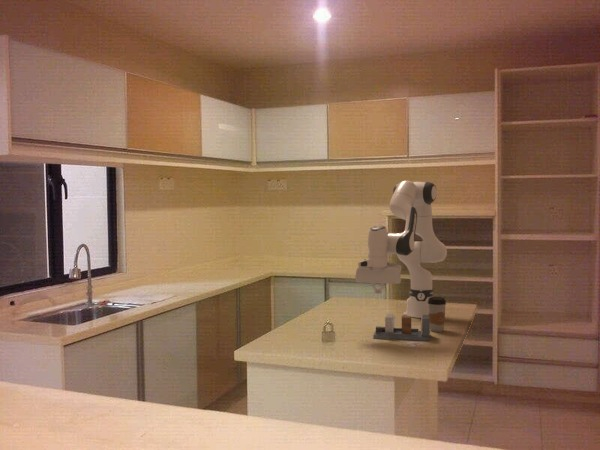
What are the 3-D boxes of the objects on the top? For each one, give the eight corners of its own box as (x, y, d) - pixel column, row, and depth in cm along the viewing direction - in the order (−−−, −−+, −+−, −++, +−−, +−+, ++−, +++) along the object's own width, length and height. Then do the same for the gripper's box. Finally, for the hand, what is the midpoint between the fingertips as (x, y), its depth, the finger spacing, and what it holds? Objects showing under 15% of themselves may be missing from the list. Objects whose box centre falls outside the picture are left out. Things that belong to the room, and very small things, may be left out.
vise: (376, 332, 267) (376, 312, 267) (429, 334, 261) (429, 314, 261) (373, 338, 255) (373, 317, 255) (429, 341, 250) (429, 319, 249)
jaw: (377, 329, 265) (376, 313, 265) (394, 330, 263) (394, 313, 263) (374, 333, 257) (374, 316, 256) (393, 334, 255) (393, 317, 255)
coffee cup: (433, 332, 265) (433, 300, 264) (424, 329, 273) (424, 297, 272) (449, 331, 267) (449, 299, 266) (440, 327, 275) (440, 296, 274)
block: (402, 332, 260) (402, 315, 260) (411, 332, 259) (411, 315, 259) (401, 334, 256) (401, 317, 256) (410, 334, 255) (410, 317, 255)
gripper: (402, 262, 260) (402, 292, 261) (356, 261, 265) (356, 291, 265) (401, 263, 254) (401, 295, 254) (354, 262, 259) (354, 293, 259)
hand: (378, 293), depth 260 cm, fingers closed
